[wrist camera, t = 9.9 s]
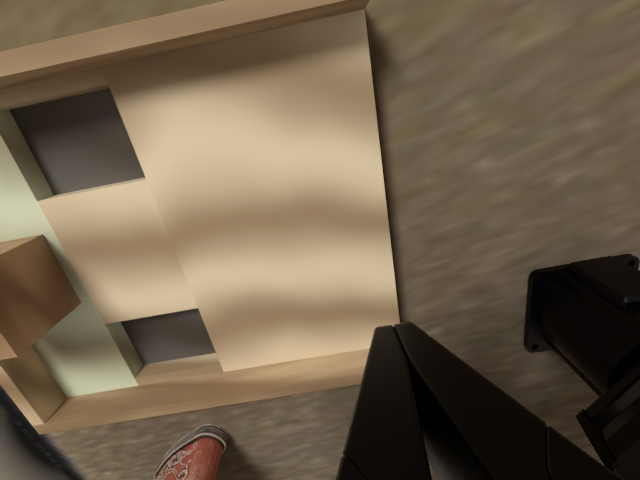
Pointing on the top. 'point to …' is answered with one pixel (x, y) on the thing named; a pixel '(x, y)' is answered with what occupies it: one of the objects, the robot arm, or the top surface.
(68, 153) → the box
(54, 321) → the block
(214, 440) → the lighter
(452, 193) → the top surface
